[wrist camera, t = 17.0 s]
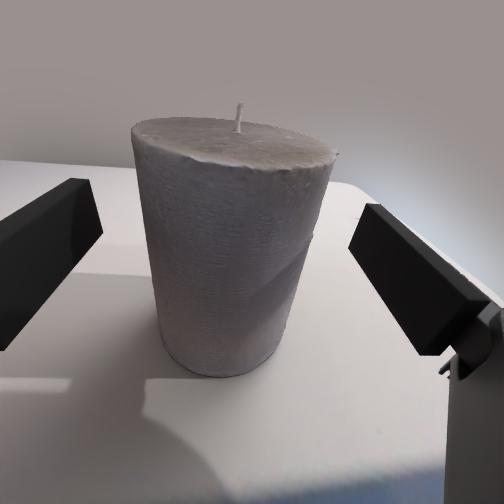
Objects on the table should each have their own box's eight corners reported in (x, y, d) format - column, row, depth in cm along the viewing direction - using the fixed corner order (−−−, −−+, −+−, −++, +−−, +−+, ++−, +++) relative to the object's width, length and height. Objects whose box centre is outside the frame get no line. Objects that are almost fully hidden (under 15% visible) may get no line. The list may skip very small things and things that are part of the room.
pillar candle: (175, 276, 23) (158, 86, 15) (276, 282, 24) (316, 106, 16) (141, 379, 15) (62, 95, 7) (294, 382, 16) (395, 135, 8)
